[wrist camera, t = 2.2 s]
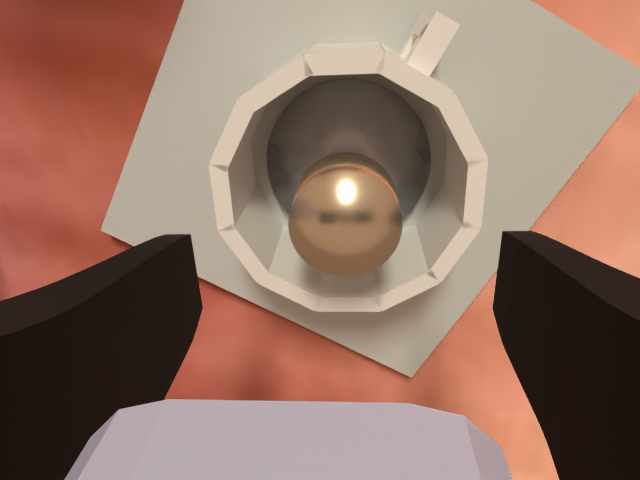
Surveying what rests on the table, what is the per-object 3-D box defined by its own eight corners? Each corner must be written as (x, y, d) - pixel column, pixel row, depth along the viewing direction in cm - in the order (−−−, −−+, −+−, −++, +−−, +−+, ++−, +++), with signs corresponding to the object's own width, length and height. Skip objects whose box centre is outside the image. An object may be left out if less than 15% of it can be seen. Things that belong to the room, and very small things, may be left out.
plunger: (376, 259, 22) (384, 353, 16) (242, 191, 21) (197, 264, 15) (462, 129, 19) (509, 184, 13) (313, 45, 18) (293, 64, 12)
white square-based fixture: (409, 367, 25) (422, 446, 21) (108, 223, 23) (47, 277, 18) (639, 72, 19) (729, 93, 14) (253, -169, 16) (215, -235, 12)
